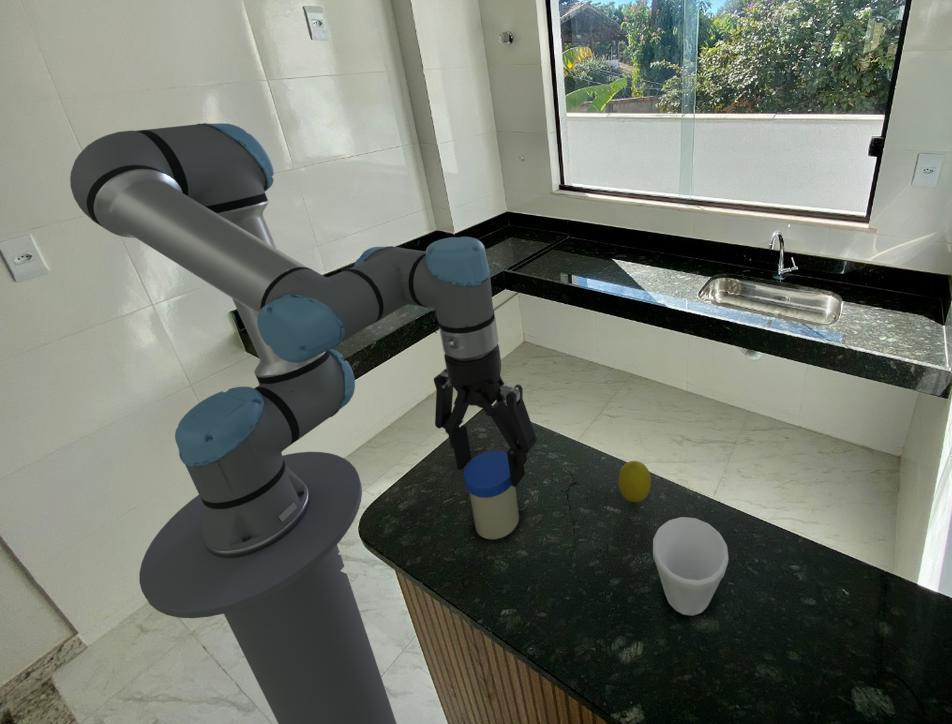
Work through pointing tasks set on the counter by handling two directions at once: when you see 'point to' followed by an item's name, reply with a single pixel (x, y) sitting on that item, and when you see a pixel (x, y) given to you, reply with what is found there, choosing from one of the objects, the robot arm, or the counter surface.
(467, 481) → the jar lid
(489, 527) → the jar
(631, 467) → the lemon
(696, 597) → the cup
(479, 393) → the robot arm
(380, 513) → the counter surface
